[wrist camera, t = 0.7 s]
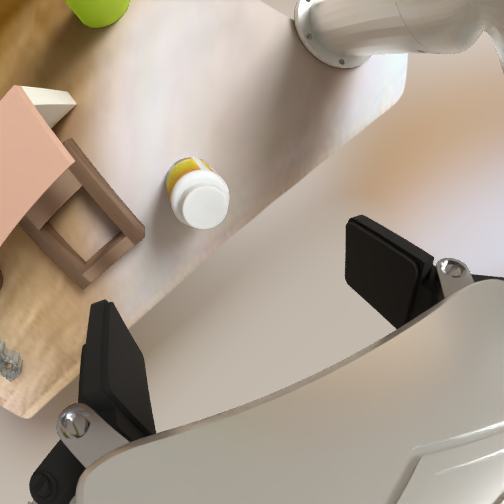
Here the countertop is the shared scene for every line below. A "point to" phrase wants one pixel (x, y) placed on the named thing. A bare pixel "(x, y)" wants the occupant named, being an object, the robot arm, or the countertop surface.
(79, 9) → the soap dispenser
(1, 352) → the egg carton
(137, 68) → the countertop surface
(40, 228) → the socket block
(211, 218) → the supplement bottle
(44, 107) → the pink-topped white panel
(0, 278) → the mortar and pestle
